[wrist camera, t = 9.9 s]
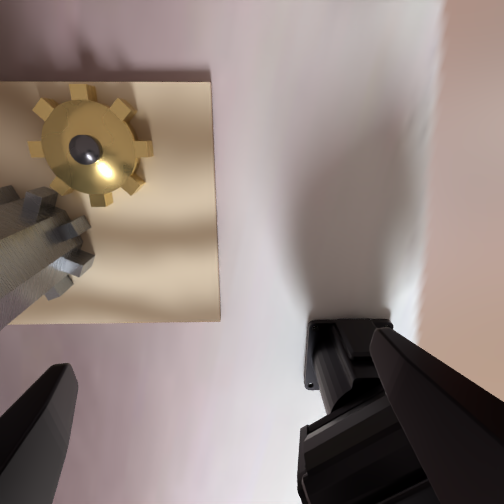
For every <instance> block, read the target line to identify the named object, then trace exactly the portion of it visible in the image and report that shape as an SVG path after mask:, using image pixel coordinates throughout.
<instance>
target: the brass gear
mask: <svg viewBox="0 0 504 504" xmlns="http://www.w3.org/2000/svg"><path fill="white" fill-rule="evenodd" d="M69 89H70V94H71V100H70V101H67V102H64V103H62V104H60V105H59V104H58V103H57V102H56V101H55V100H54V99H48V98H42V97H41V98H40V100H39V101H38V103H37V104H36V105H35V107H34V108H33V110H32V111H34V112H35V113H36V114H37V115H38V116H39V117H40V118H42V119H43V120H44V121H45V122H44V125H43V128H42V135H41V141H27V143H28V147H29V151H30V155H31V158H45V159H46V161H47V163H48V165H49V167H50V168H51V170H52V171H53V173H54V174H55V175H56V177H55V179H54V180H53V181H52V183H51V184H50V185H49V186H50V187H51V188H52V189H54V190H55V191H56V192H57V193H59V194H60V195H61V196H65V195H67V194H70V193H72V192H73V191H74V190H77V191H79V192H82V193H86V194H89V198H90V204H91V207H107V206H109V205H110V204H112V203H113V197H112V191H114V190H117V189H119V188H122V189H123V190H125V191H126V192H127V193H128V194H129V195H130V196H132V195H134V194H135V193H137V192H138V191H139V190H140V189H141V187H142V186H143V185H144V184H145V183H146V182H145V181H144V180H143V179H142V178H141V177H140V176H138V175H137V174H136V172H137V170H138V168H139V164H140V160H141V158H143V157H152V156H154V153H153V144H152V140H139V139H138V136H137V134H136V131H135V130H134V128H133V126H132V125H131V123H130V121H131V119H132V118H133V117H134V116H135V114H136V113H137V112H138V111H137V110H136V109H135V108H134V107H133V106H131V105H130V104H129V103H128V102H127V101H126V100H125V99H121V98H117V99H116V100H115V102H114V103H113V104H112V106H109V105H106V104H104V103H100V102H98V101H97V94H96V88H95V86H91V85H88V84H69Z"/></svg>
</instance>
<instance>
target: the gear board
mask: <svg viewBox="0 0 504 504" xmlns="http://www.w3.org/2000/svg"><path fill="white" fill-rule="evenodd" d="M69 84H88V85H91V86H95V88H96V94H97V101H98V102H100V103H104V104H106V105H109V106H112V104H113V103H114V102H115V100H116V99H117V98H121V99H125V100H126V101H127V102H128V103H129V104H130V105H131V106H133V107H134V108H135V109H136V110H137V111H138V112H137V113H136V114H135V116H134V117H133V118H132V119H131V121H130V123H131V125H132V126H133V128H134V130H135V131H136V134H137V136H138V139H139V140H152V144H153V153H154V156H152V157H143V158H141V160H140V164H139V168H138V170H137V172H136V174H137V175H138V176H140V177H141V178H142V179H143V180H144V181H145V182H146V183H145V184H144V185H143V186H142V187H141V189H140V190H139V191H138V192H137V193H135V194H134V195H132V196H130V195H129V194H128V193H127V192H126V191H125V190H123V189H122V188H119V189H117V190H114V191H112V197H113V203H112V204H110V205H109V206H107V207H91V204H90V198H89V194H86V193H82V192H79V191H77V190H74V191H73V192H72V193H70V194H67V195H65V196H61V195H60V194H59V193H58V197H57V201H56V205H55V207H58V208H60V209H63V210H65V211H66V212H67V214H68V216H69V218H70V219H71V220H72V219H75V218H78V217H80V216H83V215H85V217H86V218H87V220H88V222H89V224H90V225H91V228H90V229H88V230H87V231H85V232H83V233H82V234H80V236H81V238H82V240H83V244H82V247H81V250H83V251H85V252H88V253H90V254H93V255H95V258H94V261H93V264H92V267H91V268H89V269H88V270H87V271H86V272H85V273H84V274H83V275H82V276H81V277H76V276H74V275H71V274H68V275H69V277H70V278H71V280H72V282H73V283H74V285H72V286H71V287H70V288H69V289H68V290H67V291H66V292H65V293H64V294H63V295H61V296H60V297H57V298H55V299H52V300H49V301H48V299H47V298H46V297H45V295H43V296H41V297H40V298H39V299H38V300H37V301H35V302H34V303H33V304H32V305H31V306H29V307H28V308H27V309H26V310H25V311H23V312H22V313H21V314H20V315H18V316H17V317H16V318H15V319H14V320H12V321H11V322H10V323H9V324H8V325H10V324H83V323H156V322H220V319H221V312H220V287H219V263H218V238H217V213H216V189H215V164H214V139H213V115H212V90H211V82H21V81H0V187H5V186H9V185H12V186H13V188H14V189H15V191H16V192H17V194H18V196H19V197H20V199H22V198H25V194H26V191H29V190H33V189H36V188H40V187H43V186H45V187H47V188H50V189H52V188H51V187H50V186H49V185H50V184H51V183H52V181H53V180H54V179H55V177H56V175H55V174H54V173H53V171H52V170H51V168H50V167H49V165H48V163H47V161H46V159H45V158H31V155H30V151H29V147H28V143H27V141H41V135H42V128H43V125H44V122H45V121H44V120H43V119H42V118H40V117H39V116H38V115H37V114H36V113H35V112H34V111H32V110H33V108H34V107H35V105H36V104H37V103H38V101H39V100H40V98H41V97H42V98H48V99H54V100H55V101H56V102H57V103H58V104H59V105H60V104H62V103H64V102H67V101H70V100H71V94H70V89H69ZM52 190H54V189H52Z"/></svg>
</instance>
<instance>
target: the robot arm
mask: <svg viewBox="0 0 504 504" xmlns="http://www.w3.org/2000/svg"><path fill="white" fill-rule="evenodd" d="M385 325H388V326H387V327H384V326H385ZM314 326H318V327H317V328H315V329H314V328H313V327H314ZM309 383H312V384H309ZM304 384H305V388H306V389H308V390H320V393H321V396H322V400H323V403H324V407H325V410H326V413H327V415H326V416H325V417H323V418H321V419H320V420H318V421H316V422H314V423H313V424H311V425H306V426H304V427H302V428H301V429H300V443H299V457H298V471H297V483H298V486H297V490H298V494H299V496H300V498H301V501H302V504H504V402H503V401H501V400H500V399H498V398H497V397H495V396H494V395H492V394H490V393H489V392H488V391H486V390H484V389H483V388H481V387H480V386H478V385H477V384H475V383H474V382H472V381H471V380H469V379H468V378H466V377H464V376H463V375H461V374H460V373H458V372H457V371H455V370H454V369H452V368H451V367H449V366H448V365H446V364H445V363H443V362H442V361H440V360H438V359H437V358H435V357H434V356H432V355H431V354H429V353H428V352H426V351H425V350H423V349H422V348H420V347H419V346H417V345H416V344H414V343H412V342H411V341H409V340H408V339H406V338H405V337H403V336H402V335H400V334H399V333H397V332H396V331H394V330H393V324H392V323H391V322H390V321H389V320H387V319H337V320H313V321H311V322H310V323H309V325H308V334H307V348H306V362H305V375H304ZM77 393H78V381H77V379H76V376H75V374H74V371H73V369H72V366H71V365H70V364H69V363H63V364H55V365H52V366H51V367H50V368H49V369H48V370H47V371H46V372H45V373H44V374H43V375H42V376H41V377H40V378H39V379H38V380H37V381H36V382H35V383H34V384H33V385H32V386H31V387H30V388H29V389H28V390H27V391H26V392H25V393H24V394H23V395H22V396H21V397H20V398H19V399H18V400H17V401H16V402H15V403H14V404H13V405H12V406H11V407H10V408H9V409H8V410H7V411H6V412H5V413H4V414H3V415H2V416H1V417H0V504H52V502H53V499H54V495H55V492H56V488H57V485H58V481H59V478H60V474H61V471H62V467H63V464H64V460H65V457H66V453H67V449H68V445H69V439H70V434H71V428H72V422H73V416H74V411H75V405H76V399H77Z"/></svg>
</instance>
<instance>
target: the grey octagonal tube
mask: <svg viewBox="0 0 504 504" xmlns="http://www.w3.org/2000/svg"><path fill="white" fill-rule="evenodd" d="M57 197H58V193H57V192H56V191H55V190H52V189H50V188H47V187H45V186H43V187H40V188H36V189H33V190H29V191H26V194H25V198H22V199H20V197H19V196H18V194H17V192H16V191H15V189H14V188H13V186H12V185H9V186H5V187H0V330H1V329H3V328H4V327H5V326H6V325H8V324H9V323H10V322H11V321H12V320H14V319H15V318H16V317H17V316H18V315H20V314H21V313H22V312H23V311H25V310H26V309H27V308H28V307H29V306H31V305H32V304H33V303H34V302H35V301H37V300H38V299H39V298H40V297H41V296H43V295H45V297H46V298H47V299H48V301H49V300H52V299H55V298H57V297H60V296H61V295H63V294H64V293H65V292H66V291H67V290H68V289H69V288H70V287H71V286H72V285H74V283H73V282H72V280H71V278H70V277H69V275H68V274H71V275H74V276H76V277H81V276H82V275H83V274H84V273H85V272H86V271H87V270H88V269H89V268H91V267H92V264H93V261H94V258H95V255H93V254H90V253H88V252H85V251H83V250H81V247H82V244H83V240H82V238H81V236H80V234H82V233H83V232H85V231H87V230H88V229H90V228H91V225H90V224H89V222H88V220H87V218H86V217H85V215H83V216H80V217H78V218H75V219H72V220H71V219H70V218H69V216H68V214H67V212H66V211H65V210H63V209H60V208H58V207H55V205H56V201H57Z"/></svg>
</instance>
